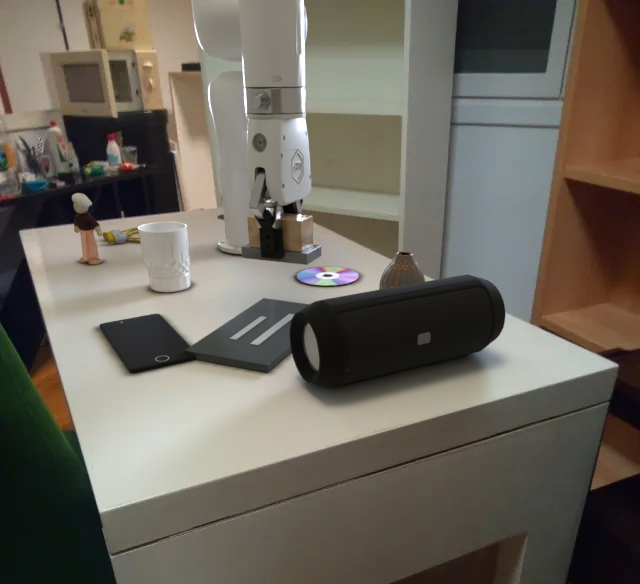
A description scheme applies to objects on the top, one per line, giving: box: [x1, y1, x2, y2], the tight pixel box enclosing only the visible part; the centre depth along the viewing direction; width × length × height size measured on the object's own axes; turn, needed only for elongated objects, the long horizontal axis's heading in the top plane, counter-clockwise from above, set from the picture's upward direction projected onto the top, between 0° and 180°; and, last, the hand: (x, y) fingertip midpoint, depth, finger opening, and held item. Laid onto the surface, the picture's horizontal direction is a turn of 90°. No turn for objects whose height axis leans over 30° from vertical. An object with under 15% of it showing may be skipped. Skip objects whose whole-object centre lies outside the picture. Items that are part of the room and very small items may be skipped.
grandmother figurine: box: [71, 192, 103, 266], centre depth 112 cm, size 8×4×13 cm, turn 68°
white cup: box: [137, 220, 192, 293], centre depth 99 cm, size 8×8×10 cm
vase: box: [378, 250, 426, 290], centre depth 88 cm, size 7×7×9 cm
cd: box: [296, 266, 360, 287], centre depth 106 cm, size 11×11×1 cm
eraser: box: [241, 211, 322, 265], centre depth 82 cm, size 10×5×6 cm, turn 67°
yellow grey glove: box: [102, 226, 141, 244], centre depth 132 cm, size 12×16×2 cm
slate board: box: [185, 297, 311, 373], centre depth 83 cm, size 22×12×1 cm, turn 157°
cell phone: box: [99, 313, 197, 375], centre depth 81 cm, size 9×18×1 cm, turn 30°
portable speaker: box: [290, 274, 506, 388], centre depth 71 cm, size 26×10×10 cm, turn 117°
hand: (281, 251), depth 83 cm, fingers closed on eraser, 5 cm apart
